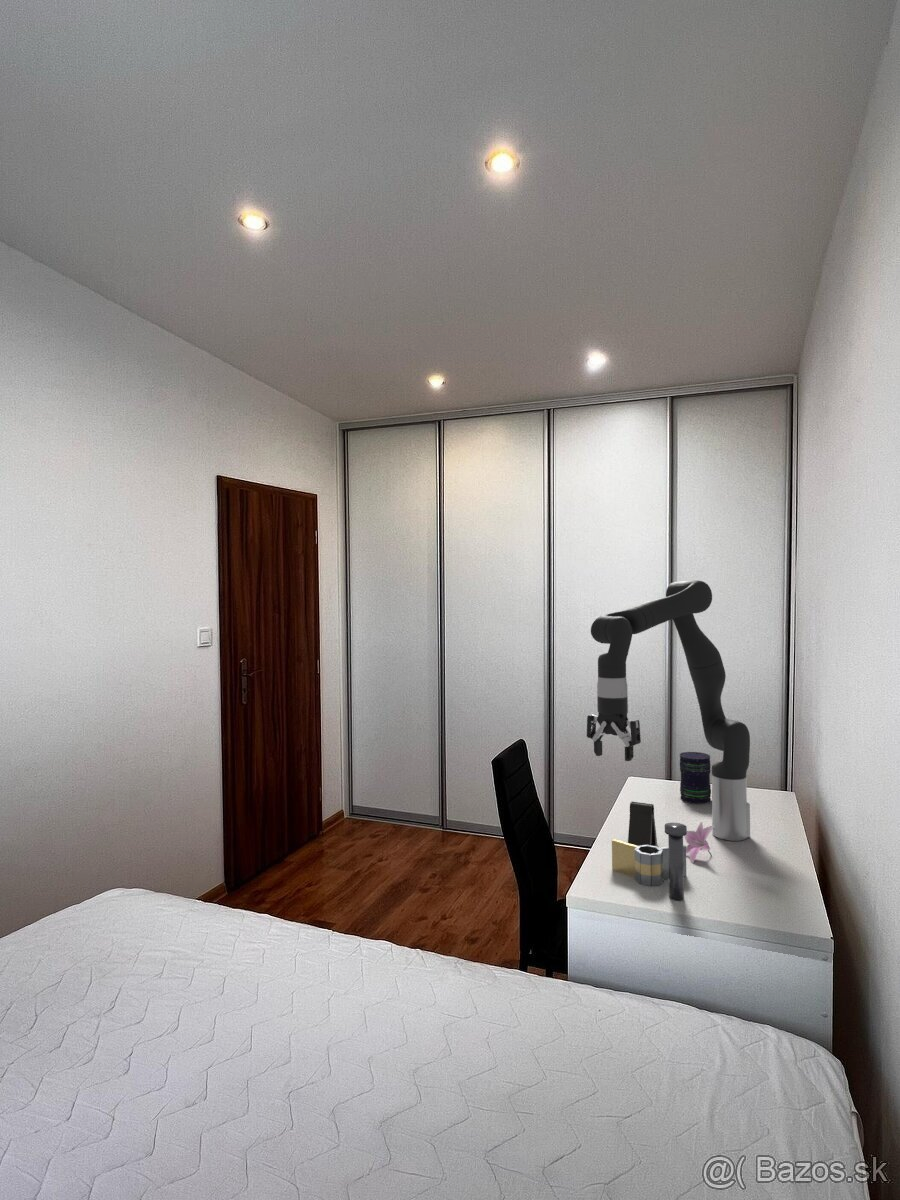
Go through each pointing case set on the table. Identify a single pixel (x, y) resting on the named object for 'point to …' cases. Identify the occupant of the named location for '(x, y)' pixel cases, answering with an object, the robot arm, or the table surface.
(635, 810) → the phone stand
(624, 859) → the hinge
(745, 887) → the table surface
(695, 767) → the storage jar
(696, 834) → the lily
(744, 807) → the robot arm
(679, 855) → the hinge pin
